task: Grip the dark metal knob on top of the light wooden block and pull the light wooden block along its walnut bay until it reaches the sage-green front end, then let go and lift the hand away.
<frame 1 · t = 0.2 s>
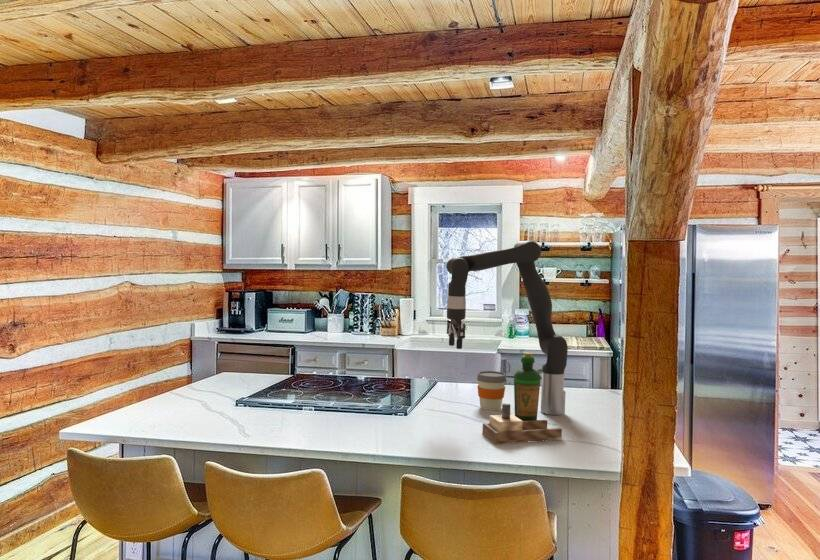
hand: (455, 347, 241), 29 cm above the worktop, tool pointing down, fingers open, 8 cm apart
bay: (521, 436, 220), on the worktop
bottle: (525, 423, 239), on the worktop
reusable coffee cup: (490, 408, 261), on the worktop
light wooden block: (505, 419, 218), point 7 cm above the worktop, slide at 0.0 cm
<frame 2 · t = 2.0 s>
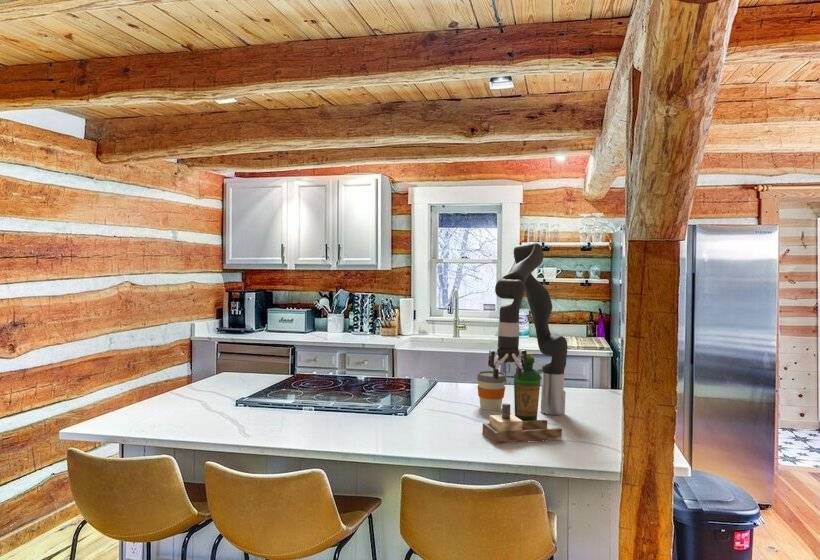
hand: (507, 378, 217), 22 cm above the worktop, tool pointing down, fingers open, 8 cm apart
nothing on the worktop moved.
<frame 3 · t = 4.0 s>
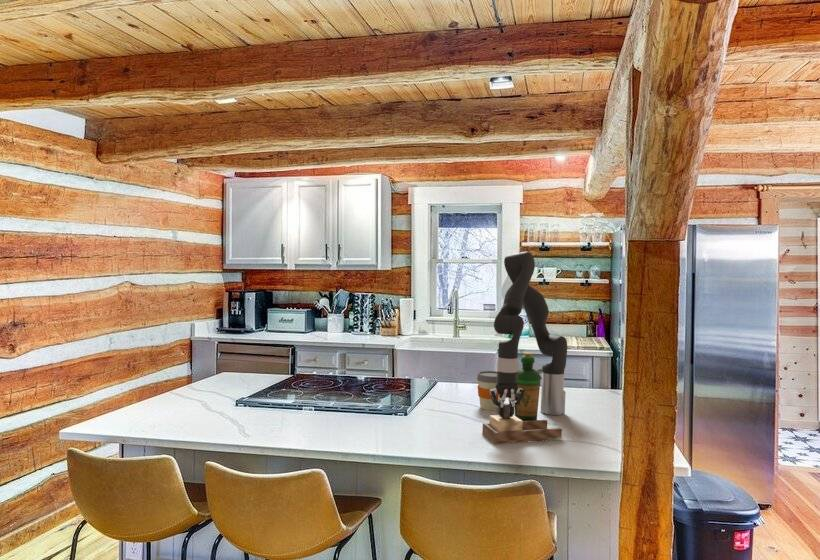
hand: (505, 416, 218), 8 cm above the worktop, tool pointing down, fingers closed on light wooden block, 3 cm apart
light wooden block: (505, 419, 218), point 7 cm above the worktop, slide at 0.0 cm, touching gripper
everything else where it was.
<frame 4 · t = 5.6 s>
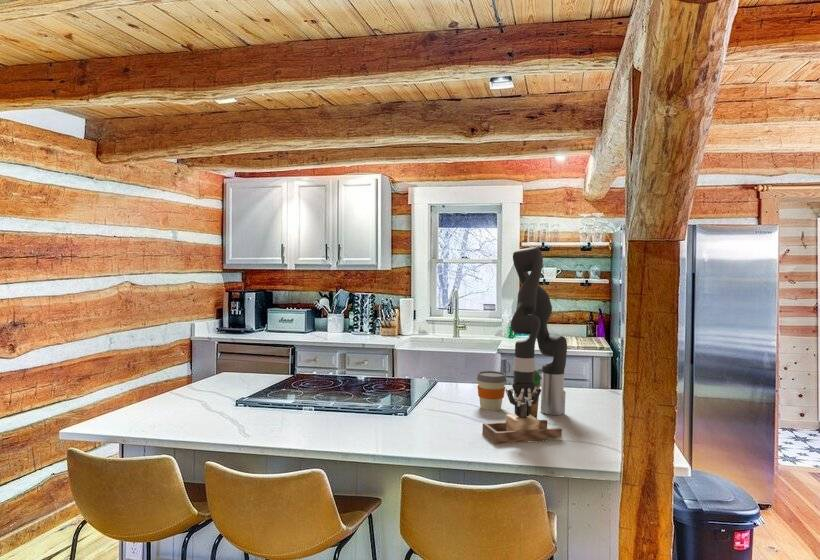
hand: (522, 415, 219), 8 cm above the worktop, tool pointing down, fingers closed on light wooden block, 3 cm apart
light wooden block: (522, 418, 219), point 7 cm above the worktop, slide at 6.6 cm, touching gripper
everything else where it was.
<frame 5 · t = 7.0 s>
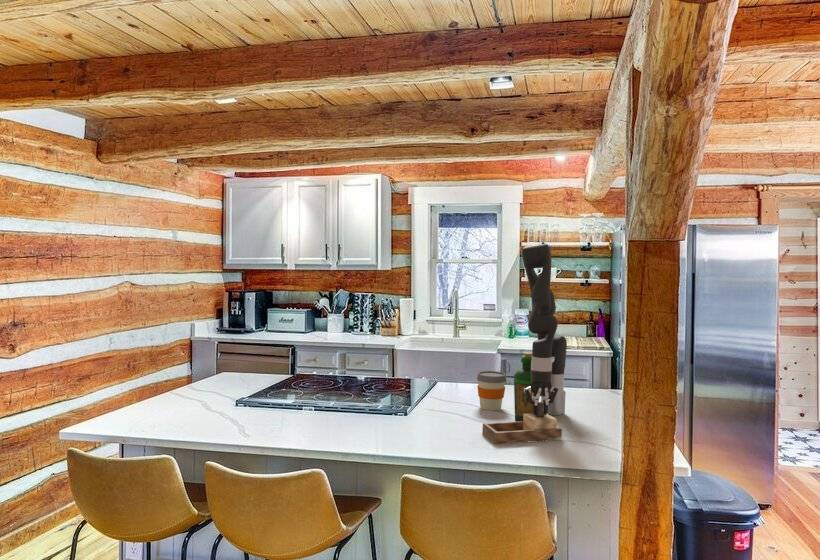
hand: (539, 414, 221), 8 cm above the worktop, tool pointing down, fingers closed on light wooden block, 3 cm apart
light wooden block: (539, 417, 221), point 7 cm above the worktop, slide at 13.6 cm, touching gripper
everything else where it was.
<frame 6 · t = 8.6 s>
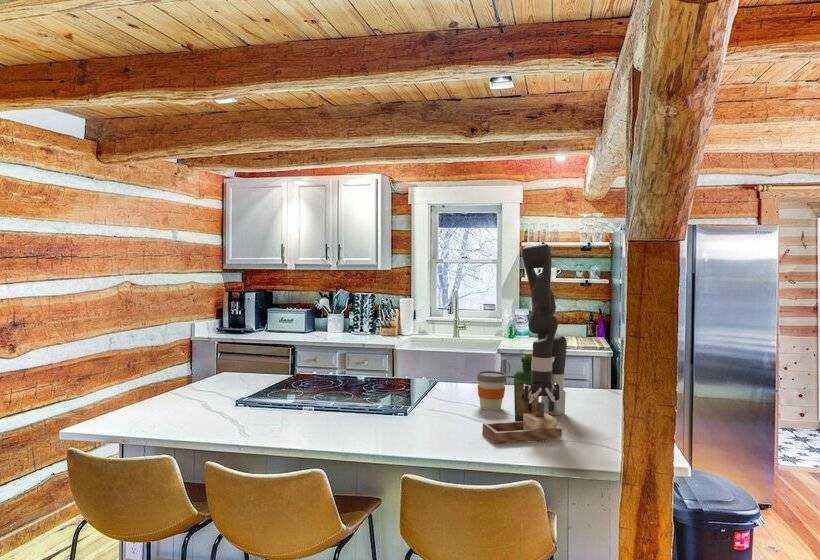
hand: (540, 412, 221), 9 cm above the worktop, tool pointing down, fingers open, 8 cm apart
light wooden block: (539, 417, 221), point 7 cm above the worktop, slide at 13.7 cm
everything else where it was.
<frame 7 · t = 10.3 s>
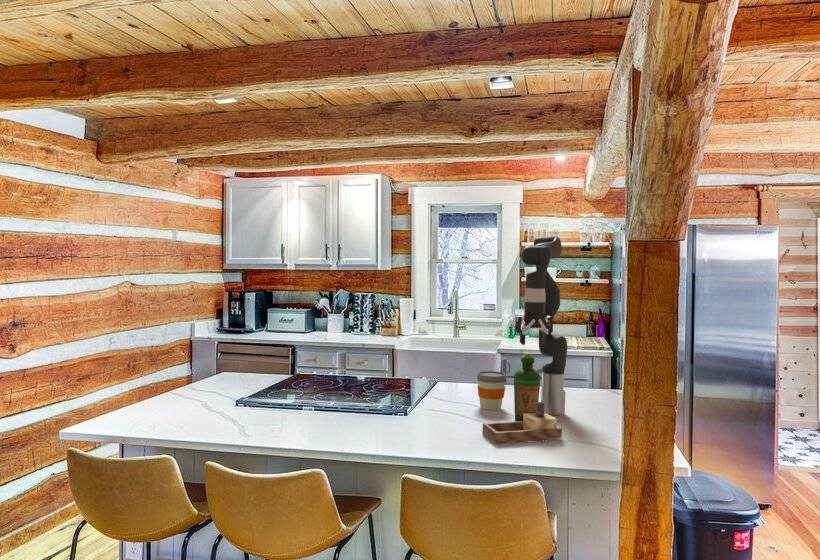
hand: (533, 344, 220), 34 cm above the worktop, tool pointing down, fingers open, 8 cm apart
nothing on the worktop moved.
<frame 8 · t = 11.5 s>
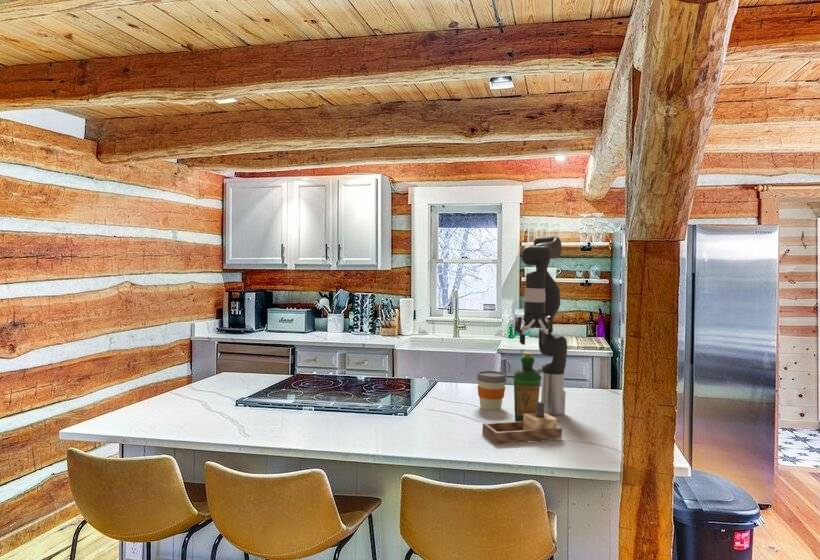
hand: (533, 344, 220), 34 cm above the worktop, tool pointing down, fingers open, 8 cm apart
nothing on the worktop moved.
at the end: light wooden block slide at 13.7 cm; the gripper is holding nothing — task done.
